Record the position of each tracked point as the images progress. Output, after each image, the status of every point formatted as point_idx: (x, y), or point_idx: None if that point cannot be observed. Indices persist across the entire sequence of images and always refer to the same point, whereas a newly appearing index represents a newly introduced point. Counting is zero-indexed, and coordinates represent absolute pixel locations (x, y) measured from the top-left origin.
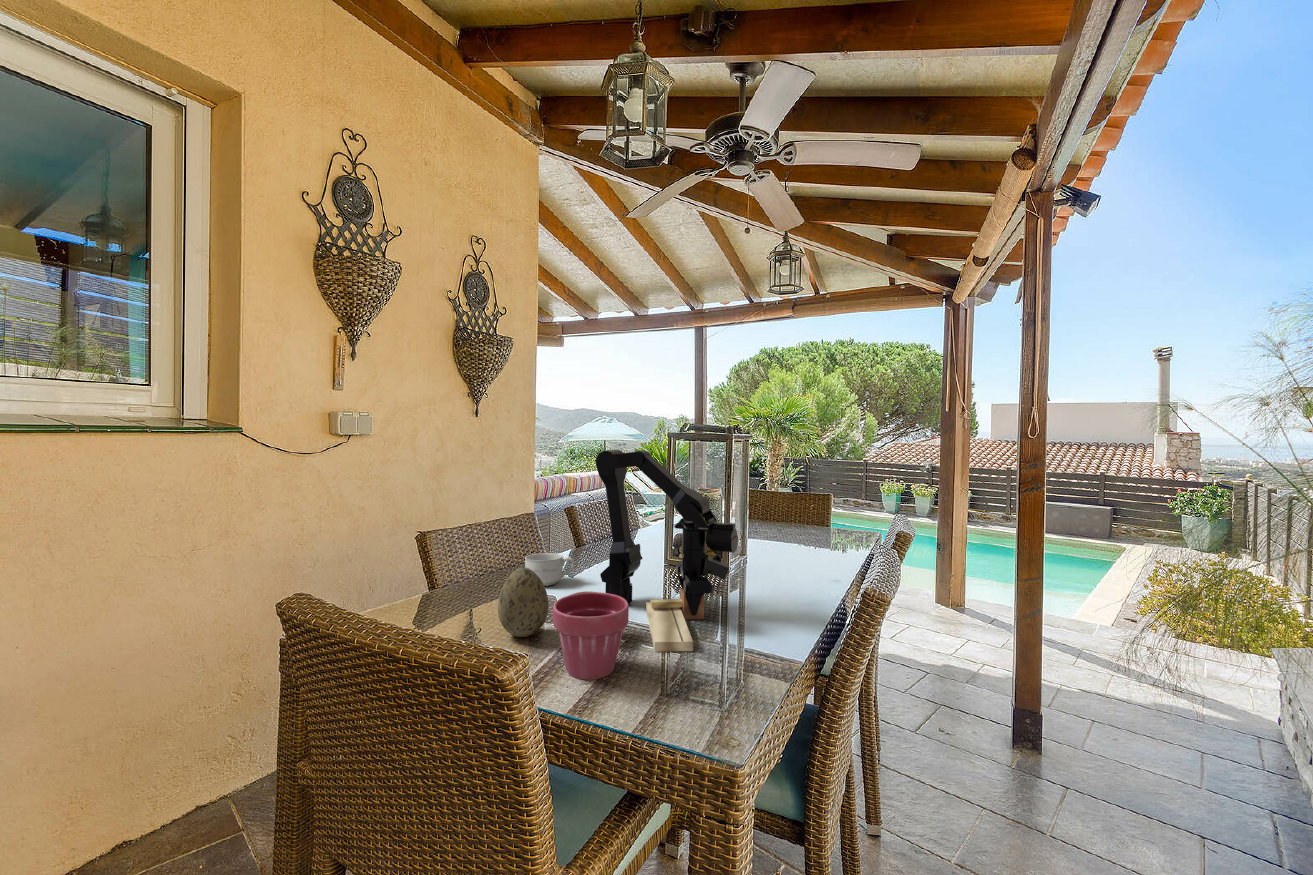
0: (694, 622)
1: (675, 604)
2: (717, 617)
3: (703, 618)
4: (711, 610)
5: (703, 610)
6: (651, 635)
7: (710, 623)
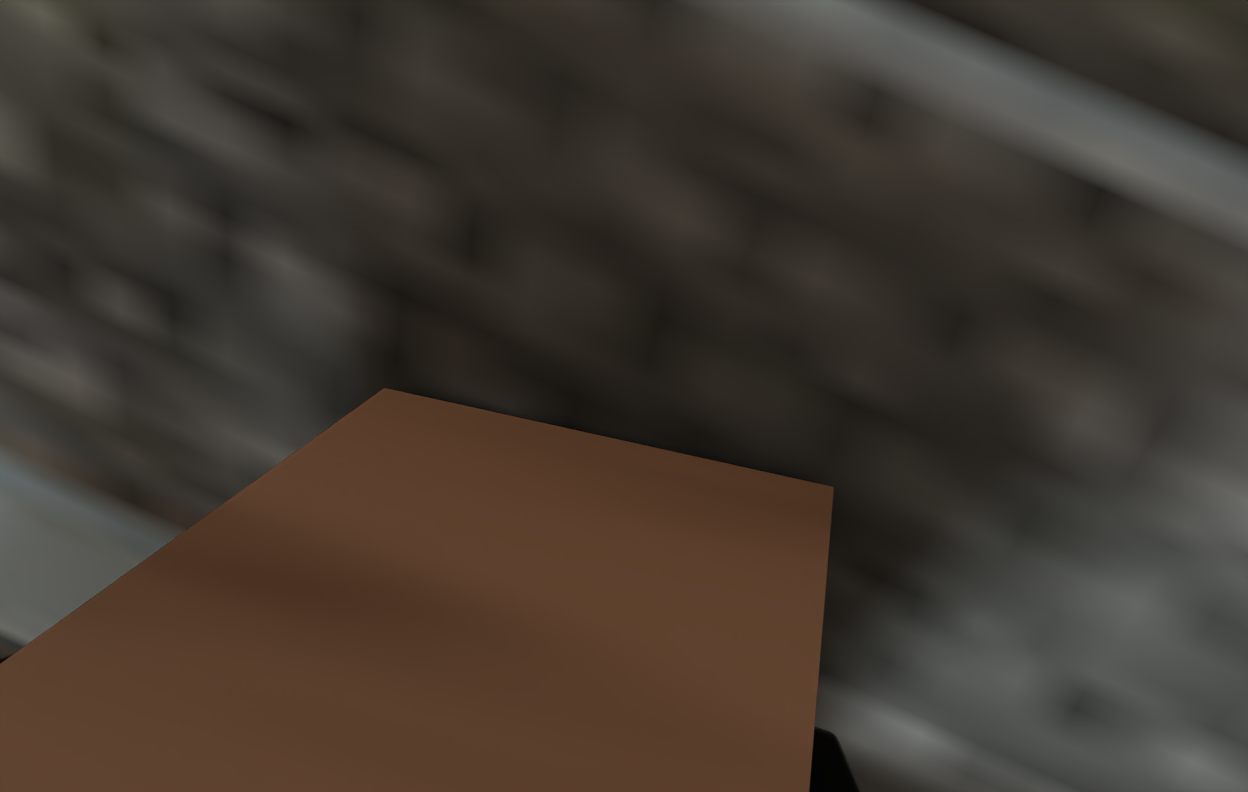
0: (939, 724)
1: None
2: (810, 93)
3: (831, 500)
4: (302, 49)
5: (821, 626)
6: None
7: (1158, 459)
